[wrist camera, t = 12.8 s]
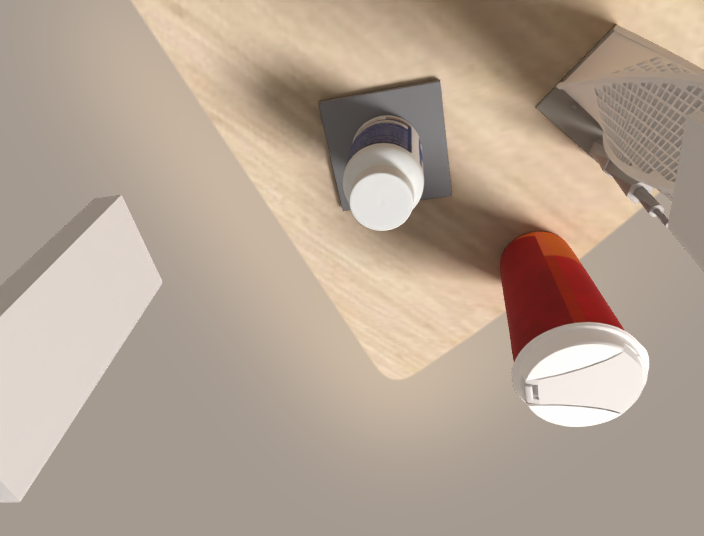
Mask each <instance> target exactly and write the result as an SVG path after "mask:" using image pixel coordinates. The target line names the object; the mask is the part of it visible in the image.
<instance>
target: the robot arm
mask: <svg viewBox="0 0 704 536" xmlns="http://www.w3.org/2000/svg"><path fill="white" fill-rule="evenodd" d="M668 229H669V230H670V231H671V232H672V233H673V235H674V236H675V237H676V238H677V240H678V241H679V242H680V243H681V244H682V246H683V247H684V248H685V249H686V250H687V252H688V253H689V254H690V255H691V256H692V258H693V259H694V260H695V261H696V263H697V264H698V265H699V266H700V267H701V269H702V270H703V271H704V112H701V113H694V114H687V116H686V122H685V128H684V134H683V139H682V145H681V151H680V157H679V163H678V169H677V175H676V181H675V187H674V193H673V199H672V205H671V211H670V217H669V223H668ZM162 283H163V282H162V280H161V278H160V276H159V273H158V271H157V269H156V267H155V265H154V263H153V261H152V259H151V257H150V255H149V252H148V250H147V248H146V246H145V244H144V242H143V240H142V237H141V235H140V233H139V231H138V229H137V227H136V225H135V223H134V221H133V218H132V216H131V214H130V212H129V210H128V208H127V206H126V204H125V201H124V199H123V197H122V195H116V196H110V197H102V198H95V199H94V200H92V201H91V202H90V203H89V204H88V205H87V206H86V207H85V208H84V209H83V210H82V211H81V212H79V213H78V214H77V215H76V216H75V217H74V218H73V219H72V220H71V221H70V222H69V223H68V224H67V225H65V226H64V227H63V228H62V229H61V230H60V231H59V232H58V233H57V234H56V235H55V236H54V237H53V238H51V240H49V242H47V243H46V244H45V245H44V246H43V247H42V248H41V249H40V250H39V251H38V252H36V253H35V254H34V255H33V256H32V257H31V258H30V259H29V260H28V261H27V262H26V263H25V264H24V265H23V266H21V267H20V268H19V269H18V270H17V271H16V272H15V273H14V274H13V275H12V276H11V277H10V278H9V279H7V280H6V281H5V283H3V284H2V285H1V286H0V502H1V503H2V502H20V501H21V500H22V498H23V497H24V495H25V494H26V492H27V491H28V489H29V487H30V485H31V484H32V483H33V481H34V480H35V478H36V476H37V475H38V473H39V472H40V471H41V469H42V467H43V466H44V464H45V462H46V461H47V460H48V458H49V457H50V455H51V453H52V452H53V450H54V449H55V447H56V446H57V444H58V443H59V441H60V440H61V438H62V437H63V435H64V434H65V432H66V431H67V429H68V427H69V426H70V424H71V423H72V421H73V420H74V418H75V417H76V415H77V414H78V412H79V411H80V409H81V407H82V406H83V404H84V403H85V401H86V400H87V398H88V397H89V395H90V394H91V392H92V391H93V389H94V387H95V386H96V384H97V383H98V381H99V380H100V378H101V377H102V375H103V374H104V372H105V371H106V369H107V367H108V366H109V364H110V363H111V361H112V360H113V358H114V357H115V355H116V354H117V352H118V351H119V349H120V347H121V346H122V344H123V343H124V341H125V340H126V338H127V337H128V335H129V334H130V332H131V331H132V329H133V327H134V326H135V324H136V323H137V321H138V320H139V318H140V317H141V315H142V314H143V312H144V310H145V309H146V307H147V306H148V304H149V303H150V301H151V300H152V298H153V297H154V295H155V293H156V292H157V291H158V289H159V288H160V286H161V284H162Z"/></svg>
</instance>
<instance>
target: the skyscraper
mask: <svg viewBox="0 0 704 536" xmlns="http://www.w3.org/2000/svg"><path fill="white" fill-rule="evenodd" d="M536 108H537V109H538V110H539V111H541V112H542V113H543V114H544V115H545V116H546V117H547V118H548V119H550V120H551V121H552V122H553V123H554V124H555V125H556V126H557V127H559V128H560V129H561V130H562V131H563V132H564V133H565V134H566V135H568V136H569V137H570V138H571V139H572V140H573V141H574V142H575V143H577V144H578V145H579V146H580V147H581V148H582V149H583V150H584V151H586V152H587V153H588V154H589V155H590V156H591V157H592V158H593V159H595V160H596V161H597V162H598V163H599V165H600V166H601V168H602V170H603V171H604V172H605V173H606V174H607V175H608V176H610V177H611V178H614V179H615V181H616V182H617V183H618V185H619V186H620V188H621V189H622V191H623V192H624V193H625V195H626V196H627V197H628V198H629V199H630V200H631V201H632V202H634V203H635V204H636V203H639V202H640V203H641V204H642V205H643V206H644V208H645V209H646V210H647V212H648V213H649V214H650V215H651V216H652V217H658V218H659V219H660V220H661V222H662V223H663V224H664V225H665V226H666V227H667V228H668V223H669V220H668V219H667V218H666V217H665V215H664V214H663V211H664V208H663V207H662V206H661V205H660V204H659V203H658V202H657V201H656V200H655V198H654V197H653V196H652V195H651V193H652V191H653V189H654V188H656V189H657V190H659V191H660V192H661V193H663V194H664V195H665V196H666V197H668V198H669V199H670V200H671V201H672V199H673V193H674V187H675V181H676V175H677V169H678V163H679V157H680V151H681V145H682V139H683V134H684V128H685V122H686V116H687V114H694V113H701V112H704V70H703V69H701V68H700V67H698V66H696V65H694V64H693V63H691V62H689V61H687V60H685V59H683V58H681V57H680V56H678V55H676V54H674V53H672V52H670V51H668V50H666V49H664V48H662V47H660V46H658V45H656V44H654V43H653V42H651V41H649V40H647V39H645V38H643V37H641V36H639V35H637V34H635V33H633V32H631V31H628V30H626V29H624V28H622V27H620V26H618V25H615V26H614V27H613V28H612V29H611V30H610V31H609V32H608V33H607V34H606V35H605V36H604V37H603V38H602V39H601V40H600V41H599V42H598V43H597V44H596V45H595V46H594V47H593V48H592V50H591V51H590V52H589V53H588V54H587V55H586V56H585V57H584V58H583V59H582V60H581V61H580V62H579V63H578V64H577V65H576V66H575V67H574V68H573V69H572V70H571V71H570V72H569V73H568V74H567V75H566V76H565V77H564V78H563V79H562V80H561V81H560V83H558V84H557V85H556V86H555V88H554V89H553V90H552V91H551V92H550V93H549V94H548V95H547V96H546V97H545V98H544V99H543V100H542V101H541V102H540V103H539V104H538V105H537V106H536ZM653 187H654V188H653Z"/></svg>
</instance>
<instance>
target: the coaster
mask: <svg viewBox="0 0 704 536" xmlns="http://www.w3.org/2000/svg"><path fill="white" fill-rule="evenodd" d="M318 104H319V108H320V113H321V117H322V121H323V126H324V130H325V135H326V139H327V143H328V148H329V152H330V157H331V161H332V165H333V170H334V174H335V179H336V183H337V187H338V192H339V196H340V201H341V205H342V209H343V211H347V210H351V209H350V205H349V202H348V200H347V199H346V196H345V194H344V190H343V176H344V171H345V167H346V164H347V160H348V157H349V153H350V149H351V145H352V142H353V139H354V137H355V135H356V133H357V131H358V130H359V128H360V127H361V126H362V125H363V124H364V123H366V122H367V121H369V120H371V119H373V118H375V117H378V116H385V115H391V116H396V117H399V118H402V119H404V120H405V121H407V122H408V123H409V124H410V125H412V126H413V128H414V129H415V130H416V132H417V133H418V135H419V137H420V141H421V146H422V156H423V173H424V188H423V193H422V196H421V198H420V200H426V199H434V198H441V197H448V196H452V190H451V180H450V171H449V161H448V152H447V142H446V133H445V123H444V113H443V104H442V94H441V85H440V80H435V81H430V82H424V83H418V84H413V85H407V86H402V87H396V88H390V89H385V90H379V91H374V92H368V93H362V94H357V95H351V96H346V97H340V98H334V99H329V100H323V101H319V103H318Z"/></svg>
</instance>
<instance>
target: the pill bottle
mask: <svg viewBox="0 0 704 536" xmlns="http://www.w3.org/2000/svg"><path fill="white" fill-rule="evenodd" d="M423 188H424V173H423V156H422V146H421V141H420V137H419V135H418V133H417V132H416V130H415V129H414V128H413V126H412V125H410V124H409V123H408V122H407V121H405V120H404V119H402V118H399V117H396V116H391V115H385V116H378V117H375V118H373V119H371V120H369V121H367V122H366V123H364V124H363V125H362V126H361V127H360V128H359V130H358V131H357V133H356V135H355V137H354V139H353V142H352V145H351V149H350V153H349V157H348V160H347V164H346V167H345V171H344V176H343V190H344V194H345V196H346V199H347V200H348V202H349V205H350V209H351V212H352V214H353V216H354V217H355V219H356V220H357V221H358V222H359V223H360V224H362V225H363V226H365V227H367V228H369V229H372V230H377V231H386V230H391V229H394V228H397V227H398V226H400V225H402V224H403V223H404V222H405V221H406V220H407V219H408V217H409V216H410V214H411V212H412V210H413V209H414V207H415V206H416V205H417V204H418V202H419V200H420V198H421V196H422V193H423Z"/></svg>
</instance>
